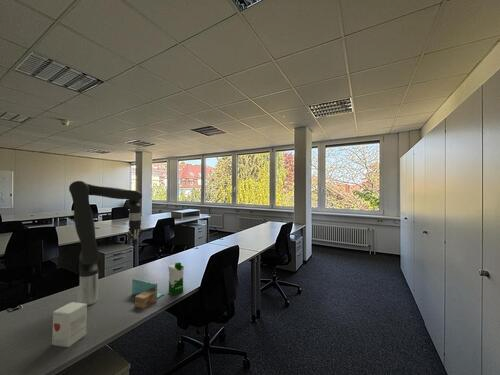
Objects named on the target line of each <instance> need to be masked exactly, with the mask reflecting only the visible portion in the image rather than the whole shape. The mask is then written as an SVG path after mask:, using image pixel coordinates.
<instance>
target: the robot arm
mask: <svg viewBox="0 0 500 375" xmlns="http://www.w3.org/2000/svg"><path fill="white" fill-rule="evenodd" d="M68 191H69V192H70V196H71V198H72V204H73V218H74V219H73V220H74V226H75V231H76V234H77V237H78V239H79V241H80V245H81V252H80V253H79V259H78V260H79V261H78V262H79V263H78V271H79V287H78V288H77V298H76V299H77V301H76V303H84V304H87V306H90V305H93V304H95V303H96V302H98V301H99V300H98V297H99V294H98V292H99V291H98V290H99V267H98V261H99V259H100V256H101V254H100V251H99V247H98V244H97V240H96V229H95V219H94V215H93V212H92V208H91V204H90V196H96V197H97V196H98V197H103V198H109V199H116V200H128V203H129V204H128V205H129V214H128V231H126V232H125V235H126V236H127V237H128V238H129V239H130V240H131V244H132V245H133V246H134V245H137V243H138V239H139V238H140V237H141V236H142V234H143V232H144V229H142V227H141V226H142V211H141V210H142V207H141V204H140V201H141V200H142V198H143V194H142V192H140V190H130V189H124V188H119V187H110V186H99V185H94V184H90V183H87V182H85V181H83V180H76V181H73V182H71V184H70V185H69V187H68Z"/></svg>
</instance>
